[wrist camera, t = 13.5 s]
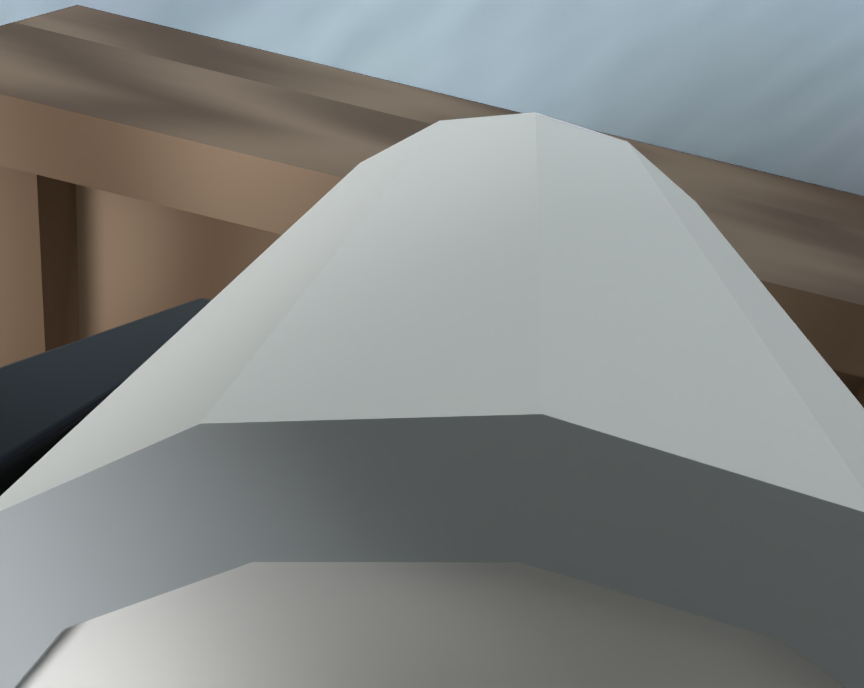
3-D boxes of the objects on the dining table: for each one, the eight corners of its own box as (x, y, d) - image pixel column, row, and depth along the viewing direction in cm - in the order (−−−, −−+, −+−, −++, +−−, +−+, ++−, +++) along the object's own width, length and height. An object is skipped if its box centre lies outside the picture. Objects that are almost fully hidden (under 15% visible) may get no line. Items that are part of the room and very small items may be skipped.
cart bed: (86, 474, 26) (-45, 642, 20) (77, 5, 18) (-132, 61, 13) (709, 629, 25) (753, 842, 20) (944, 216, 18) (1118, 367, 13)
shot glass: (587, 591, 13) (625, 1229, 7) (182, 400, 12) (-192, 942, 6) (911, 237, 9) (1558, 882, 3) (380, -70, 8) (-16, 74, 2)
